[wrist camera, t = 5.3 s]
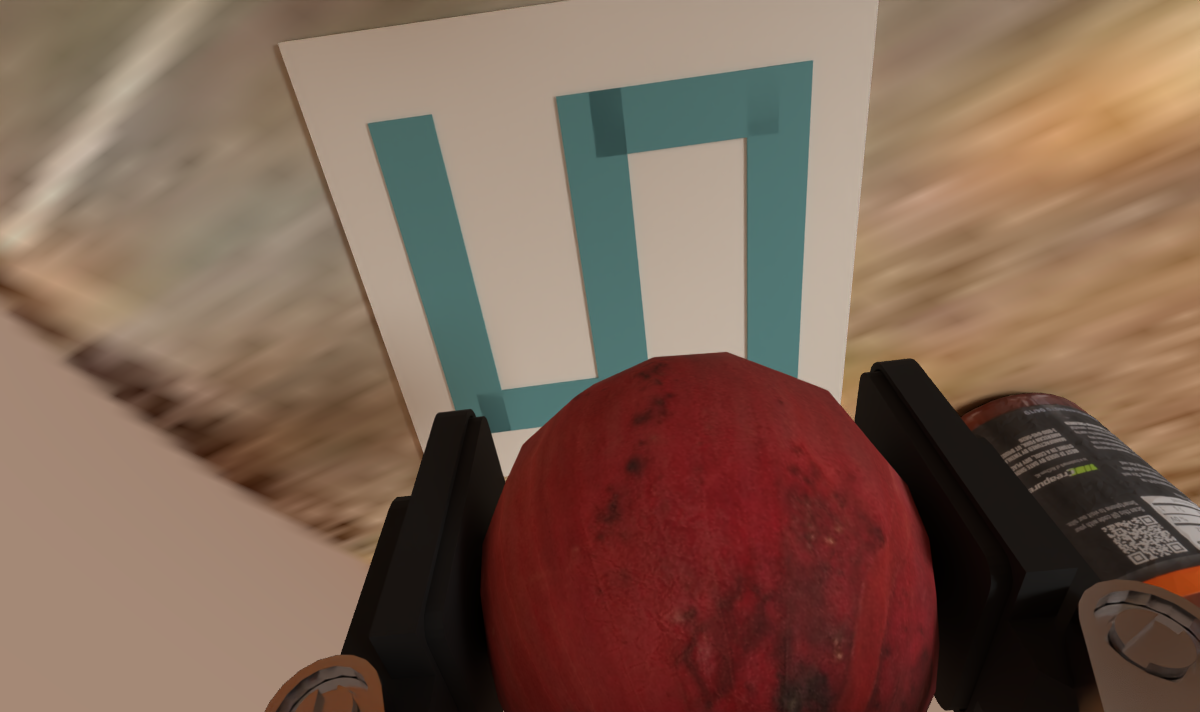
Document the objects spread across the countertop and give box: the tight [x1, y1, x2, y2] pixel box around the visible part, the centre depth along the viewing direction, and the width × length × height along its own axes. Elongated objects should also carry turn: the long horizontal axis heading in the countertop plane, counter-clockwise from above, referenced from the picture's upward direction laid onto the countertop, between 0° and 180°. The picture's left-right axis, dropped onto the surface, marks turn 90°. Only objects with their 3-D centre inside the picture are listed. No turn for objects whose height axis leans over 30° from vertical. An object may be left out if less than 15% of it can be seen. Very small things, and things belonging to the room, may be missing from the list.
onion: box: [480, 352, 940, 712], centre depth 8 cm, size 6×6×8 cm
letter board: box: [278, 0, 879, 477], centre depth 18 cm, size 14×14×1 cm
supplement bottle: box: [961, 393, 1200, 608], centre depth 18 cm, size 6×6×11 cm
